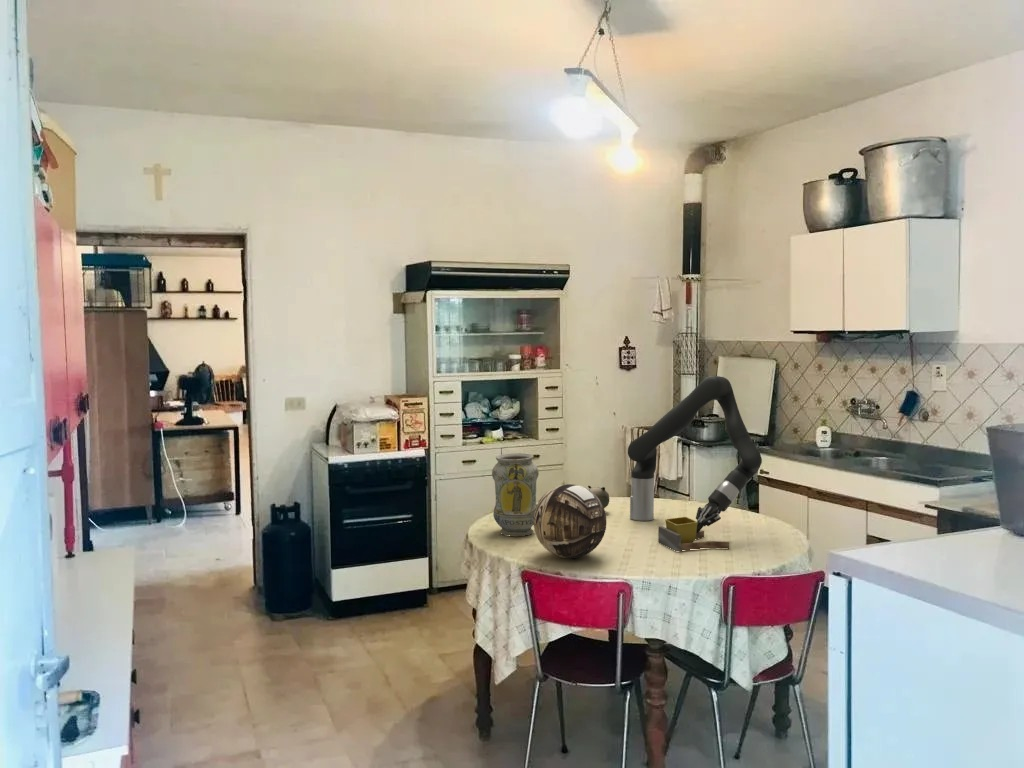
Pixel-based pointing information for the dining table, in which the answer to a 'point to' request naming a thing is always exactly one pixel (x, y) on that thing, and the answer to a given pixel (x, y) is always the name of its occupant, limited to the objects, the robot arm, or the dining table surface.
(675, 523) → the flower pot
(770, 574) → the dining table surface
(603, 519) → the sphere
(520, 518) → the vase
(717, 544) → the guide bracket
